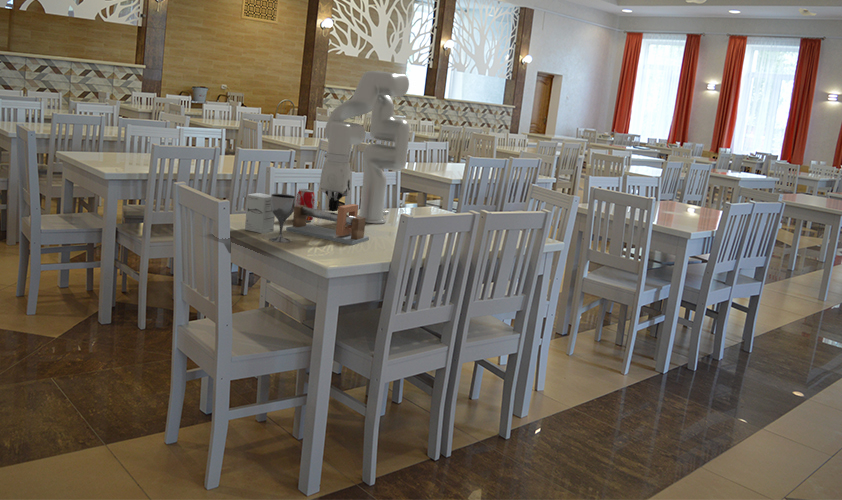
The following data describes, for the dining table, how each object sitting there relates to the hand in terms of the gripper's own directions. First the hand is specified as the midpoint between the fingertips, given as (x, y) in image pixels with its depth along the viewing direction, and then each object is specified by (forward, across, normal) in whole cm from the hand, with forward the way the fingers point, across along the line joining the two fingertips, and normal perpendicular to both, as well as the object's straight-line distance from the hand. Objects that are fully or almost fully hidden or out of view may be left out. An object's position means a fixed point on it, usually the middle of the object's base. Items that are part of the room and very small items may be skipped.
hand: (333, 210), depth 237 cm
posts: (+9, -1, 0) cm, 9 cm away
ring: (+7, +6, 0) cm, 9 cm away
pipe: (+4, -1, 0) cm, 4 cm away
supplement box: (+10, -21, -14) cm, 27 cm away
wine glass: (+10, -8, -20) cm, 24 cm away
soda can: (+10, -21, +16) cm, 28 cm away
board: (+9, -1, 0) cm, 9 cm away
